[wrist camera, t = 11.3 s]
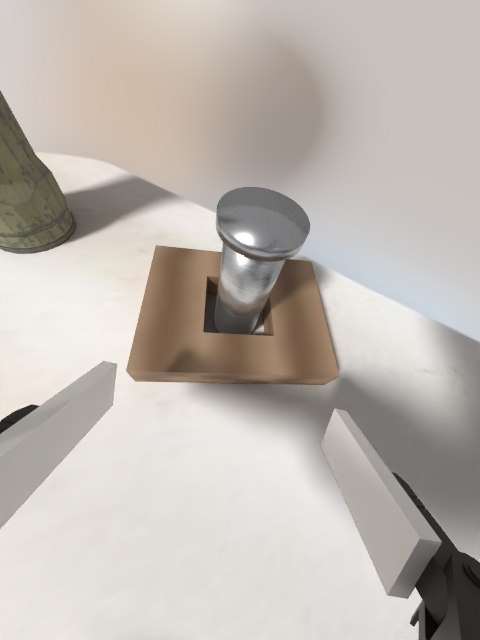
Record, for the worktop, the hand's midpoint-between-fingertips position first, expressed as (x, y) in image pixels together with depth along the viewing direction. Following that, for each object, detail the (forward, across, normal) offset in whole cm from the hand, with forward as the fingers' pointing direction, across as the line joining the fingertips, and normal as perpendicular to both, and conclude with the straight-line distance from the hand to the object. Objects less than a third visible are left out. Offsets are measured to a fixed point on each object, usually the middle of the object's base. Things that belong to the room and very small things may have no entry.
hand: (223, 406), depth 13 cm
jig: (+12, 0, +2) cm, 13 cm away
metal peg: (+12, 0, +2) cm, 12 cm away
